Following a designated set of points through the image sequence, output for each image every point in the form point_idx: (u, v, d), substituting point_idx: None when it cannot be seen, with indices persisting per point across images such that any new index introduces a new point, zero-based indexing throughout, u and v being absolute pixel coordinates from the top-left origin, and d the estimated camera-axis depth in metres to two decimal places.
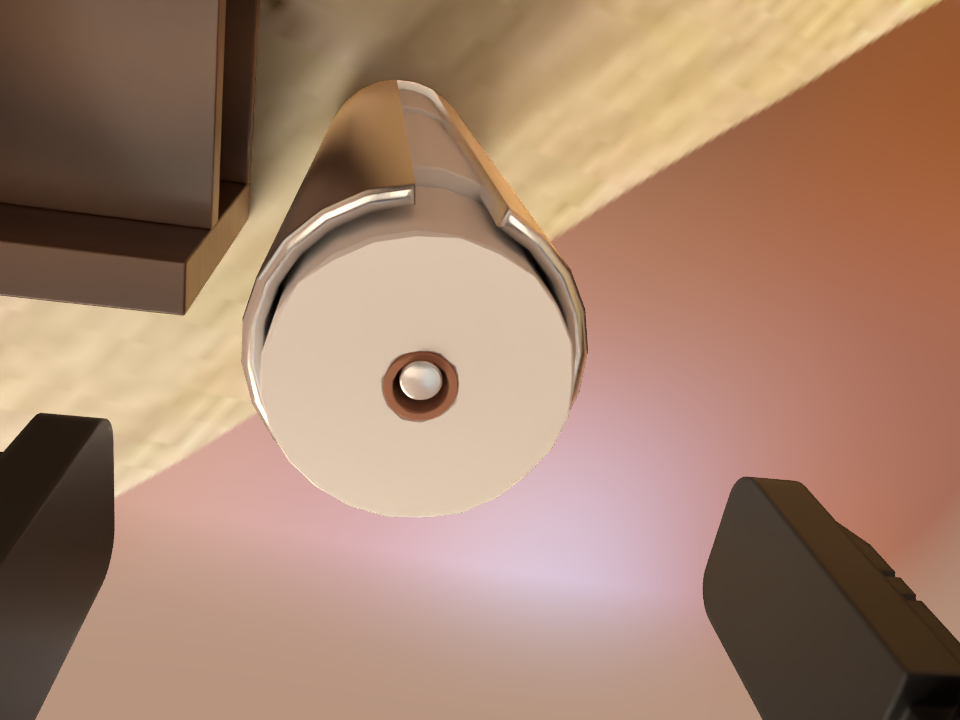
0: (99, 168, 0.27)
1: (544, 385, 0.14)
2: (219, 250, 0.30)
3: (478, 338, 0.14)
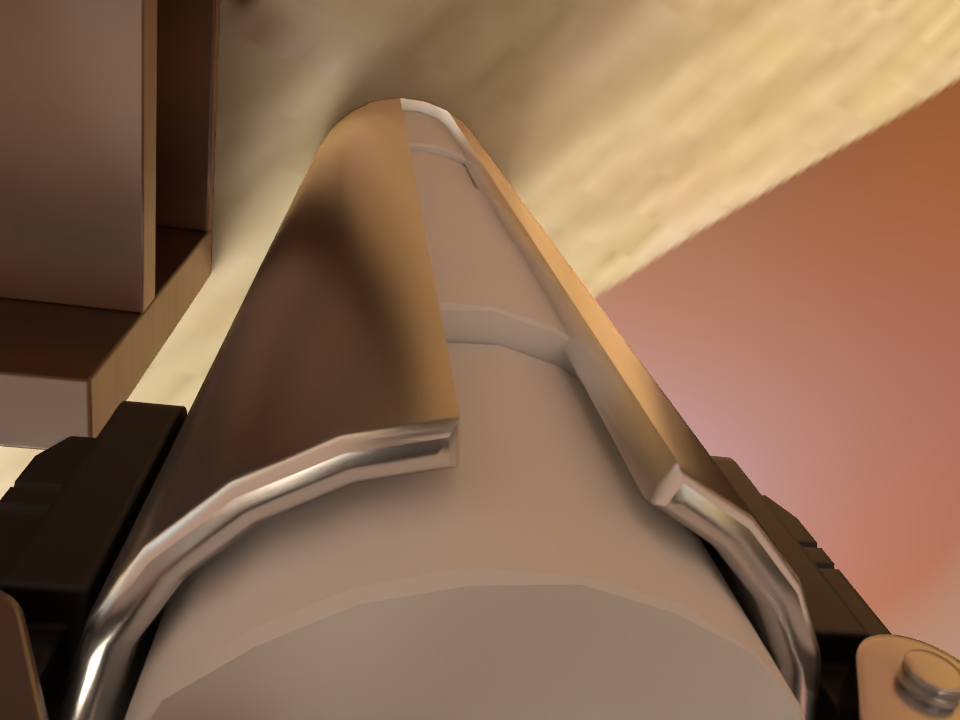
0: None
1: None
2: (159, 334, 0.22)
3: None
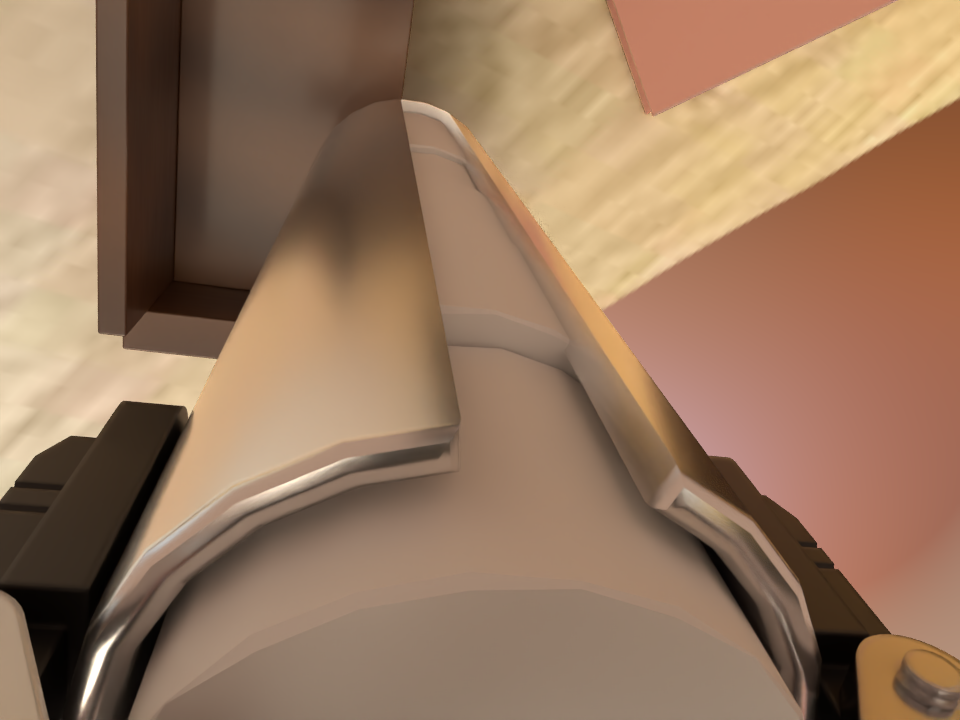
0: None
1: None
2: None
3: None
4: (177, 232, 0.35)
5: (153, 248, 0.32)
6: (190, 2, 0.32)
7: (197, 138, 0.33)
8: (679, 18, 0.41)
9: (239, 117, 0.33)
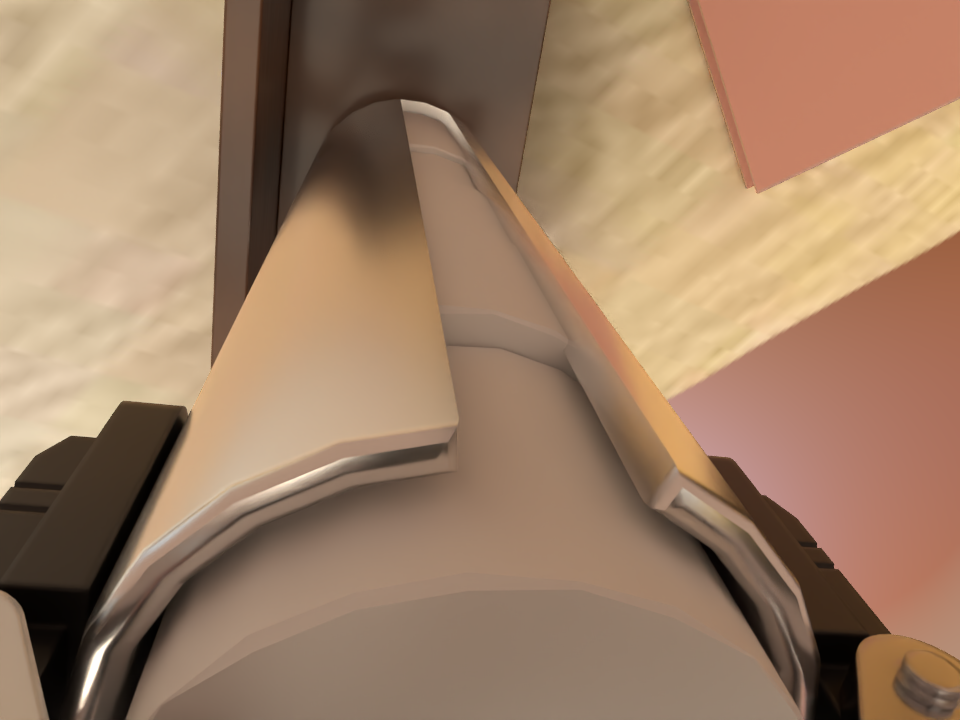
0: None
1: None
2: None
3: None
4: None
5: None
6: (294, 105, 0.29)
7: None
8: (790, 92, 0.38)
9: None
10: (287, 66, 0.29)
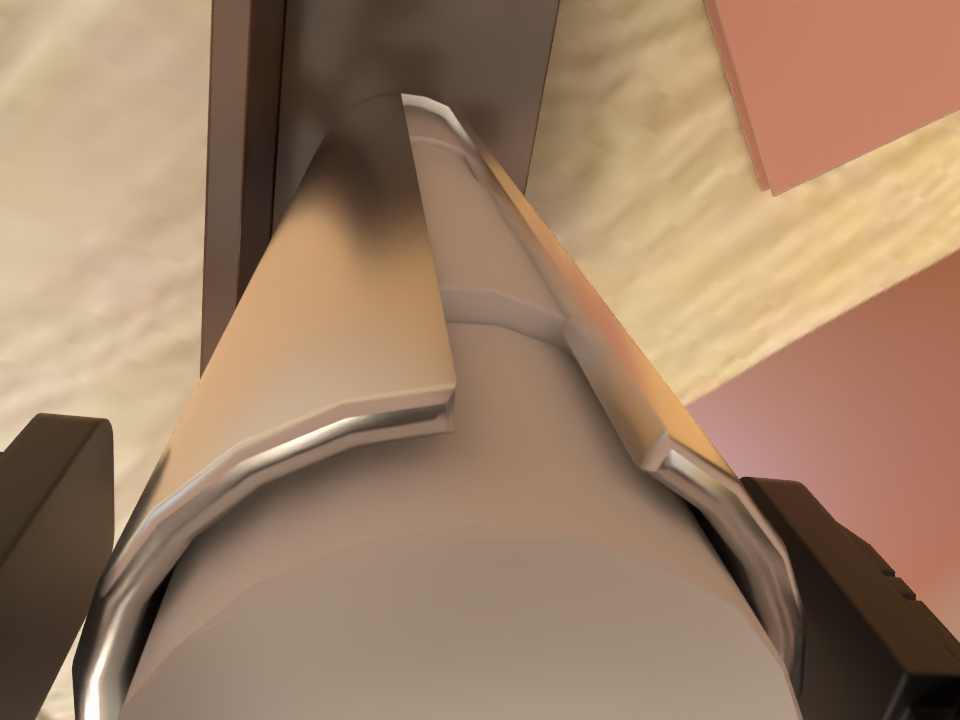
0: None
1: None
2: None
3: None
4: None
5: None
6: (290, 105, 0.27)
7: None
8: (809, 91, 0.36)
9: None
10: (282, 63, 0.27)
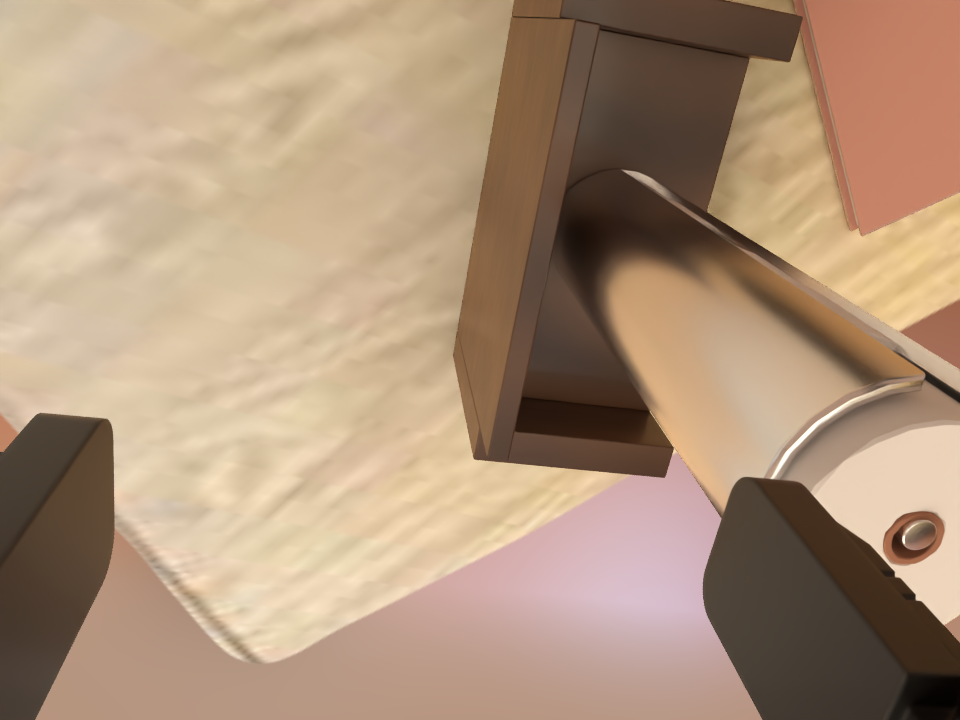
0: (592, 376, 0.43)
1: None
2: None
3: None
4: None
5: None
6: None
7: None
8: (893, 156, 0.47)
9: None
10: None
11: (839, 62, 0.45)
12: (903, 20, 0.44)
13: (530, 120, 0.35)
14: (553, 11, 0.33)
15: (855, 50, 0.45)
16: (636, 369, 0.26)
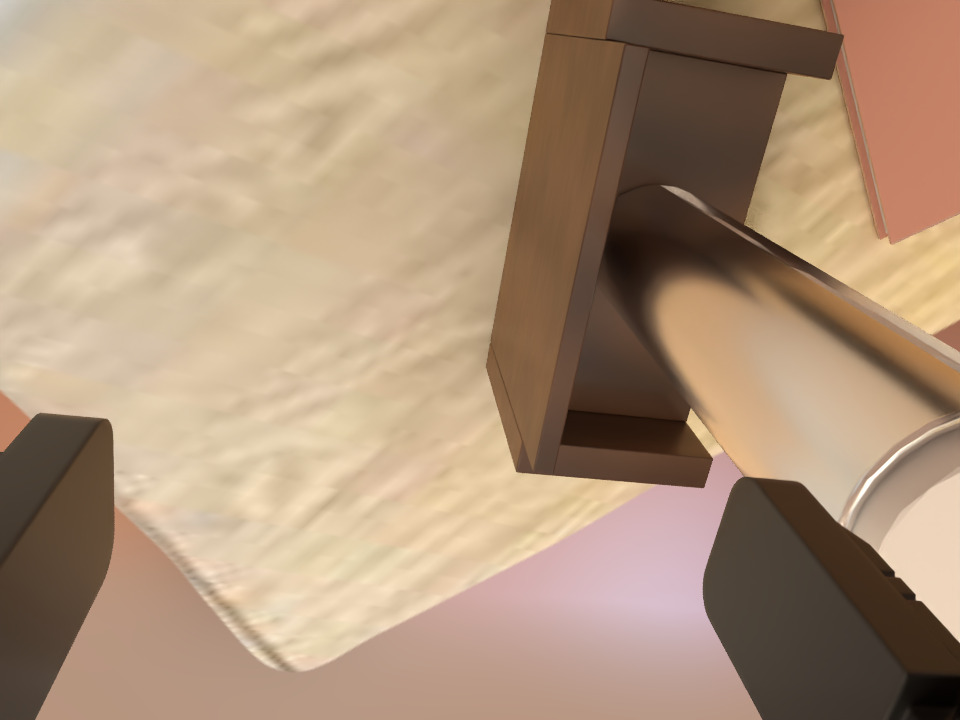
0: (629, 388, 0.43)
1: None
2: None
3: None
4: None
5: None
6: None
7: None
8: (922, 166, 0.48)
9: None
10: None
11: (870, 74, 0.45)
12: (933, 31, 0.45)
13: (573, 139, 0.35)
14: (597, 32, 0.33)
15: (885, 62, 0.45)
16: (694, 389, 0.26)
